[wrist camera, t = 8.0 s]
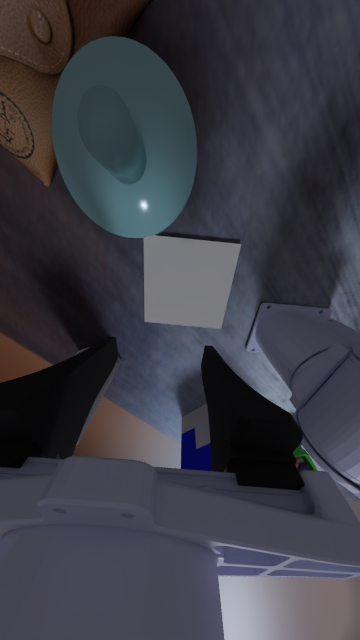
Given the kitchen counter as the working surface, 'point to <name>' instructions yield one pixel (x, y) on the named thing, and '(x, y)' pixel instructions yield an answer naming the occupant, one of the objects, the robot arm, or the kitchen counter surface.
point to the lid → (124, 137)
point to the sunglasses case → (47, 66)
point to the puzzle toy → (196, 440)
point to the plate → (187, 280)
